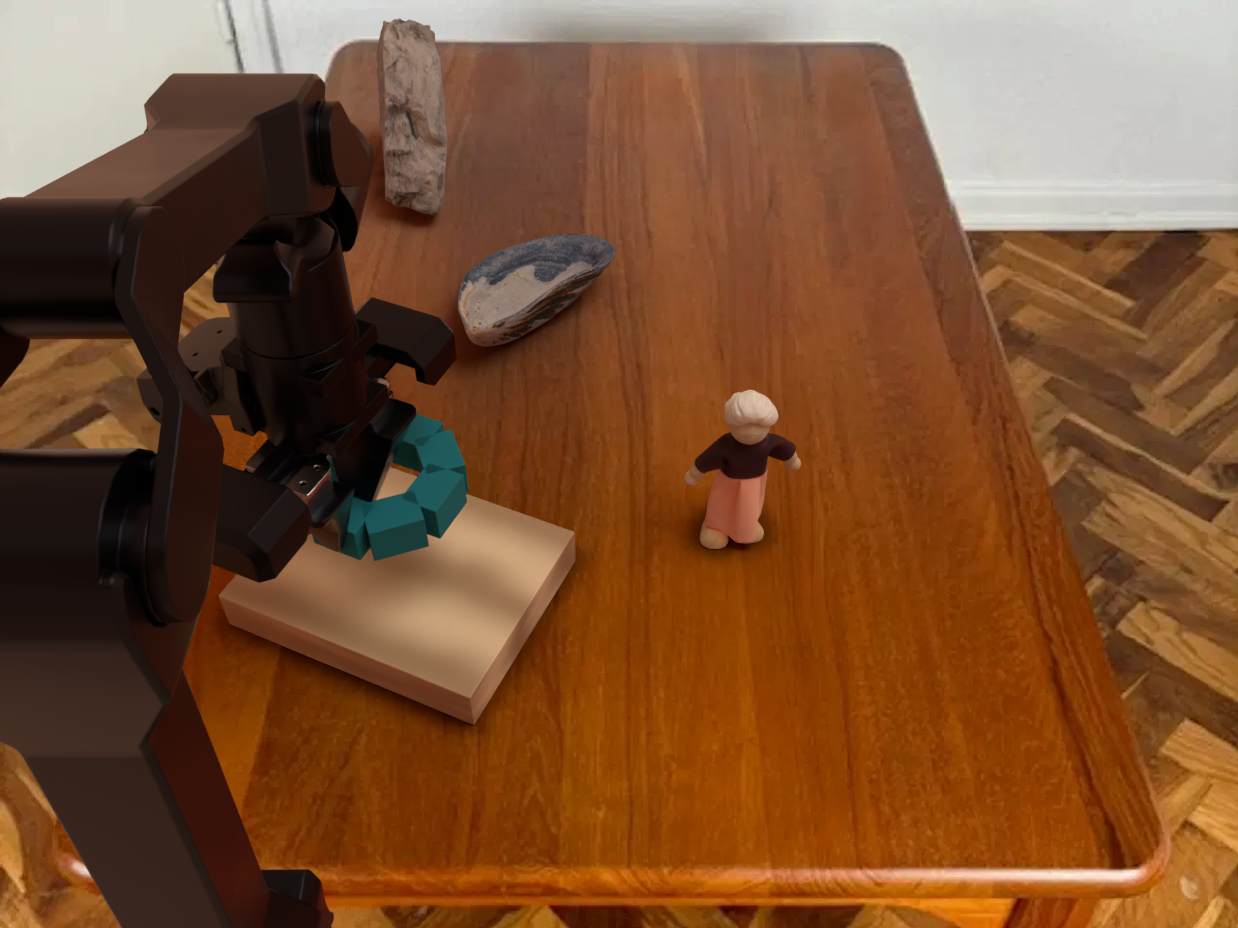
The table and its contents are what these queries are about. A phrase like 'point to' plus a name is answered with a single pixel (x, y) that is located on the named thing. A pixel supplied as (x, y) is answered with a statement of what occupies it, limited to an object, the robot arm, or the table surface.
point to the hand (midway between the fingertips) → (347, 531)
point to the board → (417, 604)
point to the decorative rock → (412, 115)
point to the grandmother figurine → (740, 470)
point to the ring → (411, 496)
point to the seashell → (528, 285)
